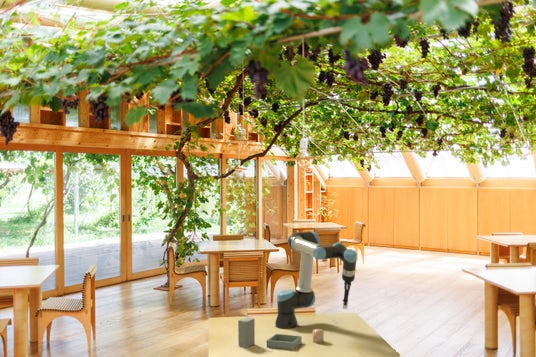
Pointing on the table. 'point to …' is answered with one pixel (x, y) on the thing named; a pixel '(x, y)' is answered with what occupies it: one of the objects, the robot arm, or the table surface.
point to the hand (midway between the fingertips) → (345, 301)
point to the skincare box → (246, 332)
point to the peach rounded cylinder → (318, 336)
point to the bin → (284, 341)
